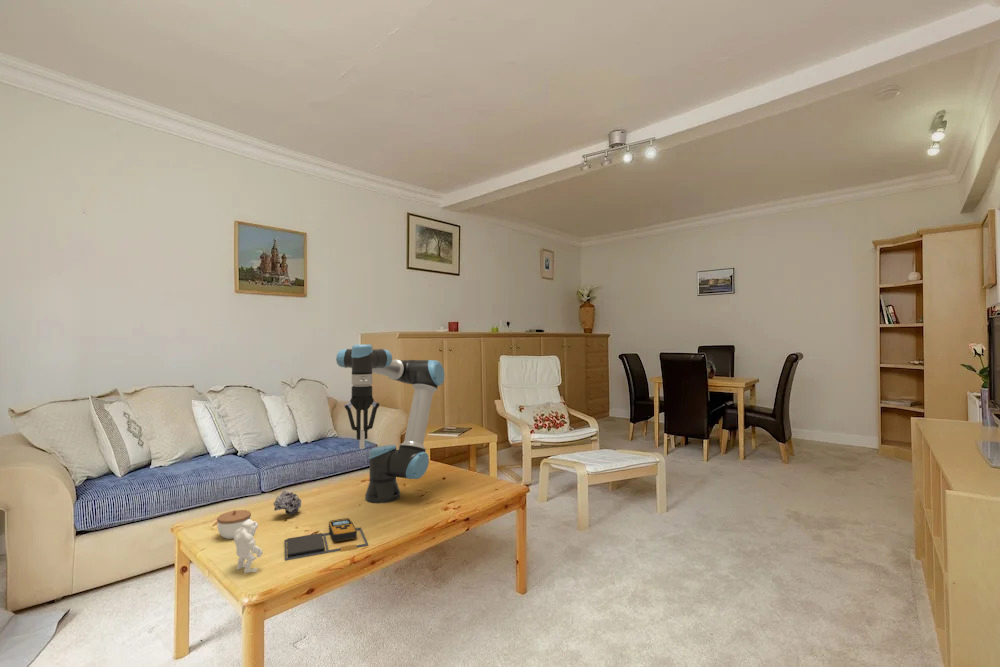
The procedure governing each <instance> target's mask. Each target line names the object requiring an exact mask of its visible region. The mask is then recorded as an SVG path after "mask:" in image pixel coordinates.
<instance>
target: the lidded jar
mask: <svg viewBox="0 0 1000 667" xmlns="http://www.w3.org/2000/svg"><path fill="white" fill-rule="evenodd" d="M251 517H252V512H251V511H250V510H246V509H245V510H244V509H239V510H238V509H237V510H235V509H234V510H231V511H227V512H224V513H221V514H220V515H218V516H217V518H216V522H217V531H218V533H219V535H220V537H222V538H224V539H226V540H234V532H235V531H236V530H237V529H239V528H241V527H242V523H243V522H245V521H247V520H248V519H251ZM251 520H252V519H251Z"/></svg>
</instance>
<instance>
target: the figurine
mask: <svg viewBox="0 0 1000 667" xmlns="http://www.w3.org/2000/svg"><path fill="white" fill-rule="evenodd" d="M258 527H259V524H258V522H257V521H256V520H254V521H253V520H252V519H248V520H247V521H245V522H243V523H242V527H241V528H239V529H237V530H236V531H235V532H234V539H233V540H234V541H233V542H234V544H235V547H236V548H235V549H236V556H237V557H239V558H238V559H237V566H236V570H241V569H243V568H244V571H243V574H248V573H258V570H259V568H257V567H255V568H251V565H252V563H253V561H255V560H257V558H261V557H262V555H263V550H262V549H261V547H259V546H258V545H256V539H255V538H254V536H255V535H256V530H257V529H258ZM254 554H255V555H256V556H255V555H254ZM245 561H246V562H245Z"/></svg>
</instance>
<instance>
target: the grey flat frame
mask: <svg viewBox="0 0 1000 667" xmlns="http://www.w3.org/2000/svg"><path fill="white" fill-rule="evenodd" d="M355 529H356V531H357V532H358V531H359V532H360V534H361V536H362V539H363V541H364V543H363V544H356V543H355V544H351V545H350V544H349V545H345V546H340V547H338V548H334V549H329V546H328V541H327V536H331V534H330V531H329V532H325V533H322V532H320V533H319V532H318V533H313V534H307V535H300V536H294V537H287V539H284V561H285V562H286V561H290V560H296V559H301V558H309V557H312V556H313V557H314V556H318V555H325V554H328V553H329V554H330V553H335V552H347V551H352V550H357V549H358V548H363V547H367V546H369V543H368V539H367V538H366V535H365V533H364V531H363V529H362V527H355Z"/></svg>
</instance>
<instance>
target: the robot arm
mask: <svg viewBox="0 0 1000 667" xmlns="http://www.w3.org/2000/svg"><path fill="white" fill-rule="evenodd" d="M335 362H336V364H337V365H338V367H340V368H345V369H349V368H350V369H351V385H352V386H351V398H350V400H349V402H348V403H346V404H344V405H343V407H344V408H345V410H346V412H347V416H348V420H349V423H350V427H351V429H352V431H356V440H357V441H359V444H358V446H359V447H358V448H359V449H360V450H365V444H366V442H365V440H368V431H369V430H372V429H373V427H374V423H375V419H376V414H377V411H378V408H379V407H380V403H379V402H376V401H374V398H373V386H372V384H373V374H378V375H380V376H381V375H382V376H386V377H388V379H390V380H392V381H396V382H399V383H403V384H407V385H411V386H412V388H413V389H414V392H413V397H412V401H411V402H412V403H411V406H410V409H409V410H410V412H409V415H408V421H407V426H406V430H405V436H404V440H403V442H402V443H400V444H399V447H398V449H397V446H396V445H395V444H386V445H380V446H377V447H373V448H372V449H370V451H369V458H368V460H369V463H368V464H369V465H368V466H369V471H368V472H369V482H368V486H367V489H366V493H365V495H364V496H365V500H364V501H366V502H368V503H370V504H387V503H388V504H389V503H392V502H395V501H398V500H399V499H400V497H401V491H400V488H399V485H398V482H397V478H401V479H408V480H419V479H421V478H422V477H423V476H424V475H425V474H426V472H427V470H428V467H429V462H430V460H429V458H430V457H429V455H428V453H427V452H426V447H425V444H424V442H425V438H426V432H427V426H428V422H429V417H430V410H431V406H432V401H433V395H434V393H436V392H437V391H438V387H440V386H441V385H443V383H444V381H445V370H444V367H443V365H442V363H441V362H440V361H439V360H433V359H429V360H428V359H402V360H401V359H397V358H395V359H393V355H392V353H391V351H390V350H388V349H384V348H379V349H378V348H373V346H372V344H353V345H352V346H351V348H344V349H339V350H338V351H337V354H336V358H335ZM371 406H372V410H371V414H370V417H368V415H369V414H368V413H369V409H370V408H371ZM352 407H353V408H354V409H355V411H356V413H355V414H356V416H355V417H356V418H355V419H356V425H355V420H354V416H353V413H352V410H351V409H352ZM362 413H363V414H362ZM361 414H362V415H361ZM361 416H363V418H362V417H361ZM361 418H362V420H363V425H362V426H363V429H362V430H361V428H362V426H361V421H362V420H361ZM368 421H369V422H368Z"/></svg>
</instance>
